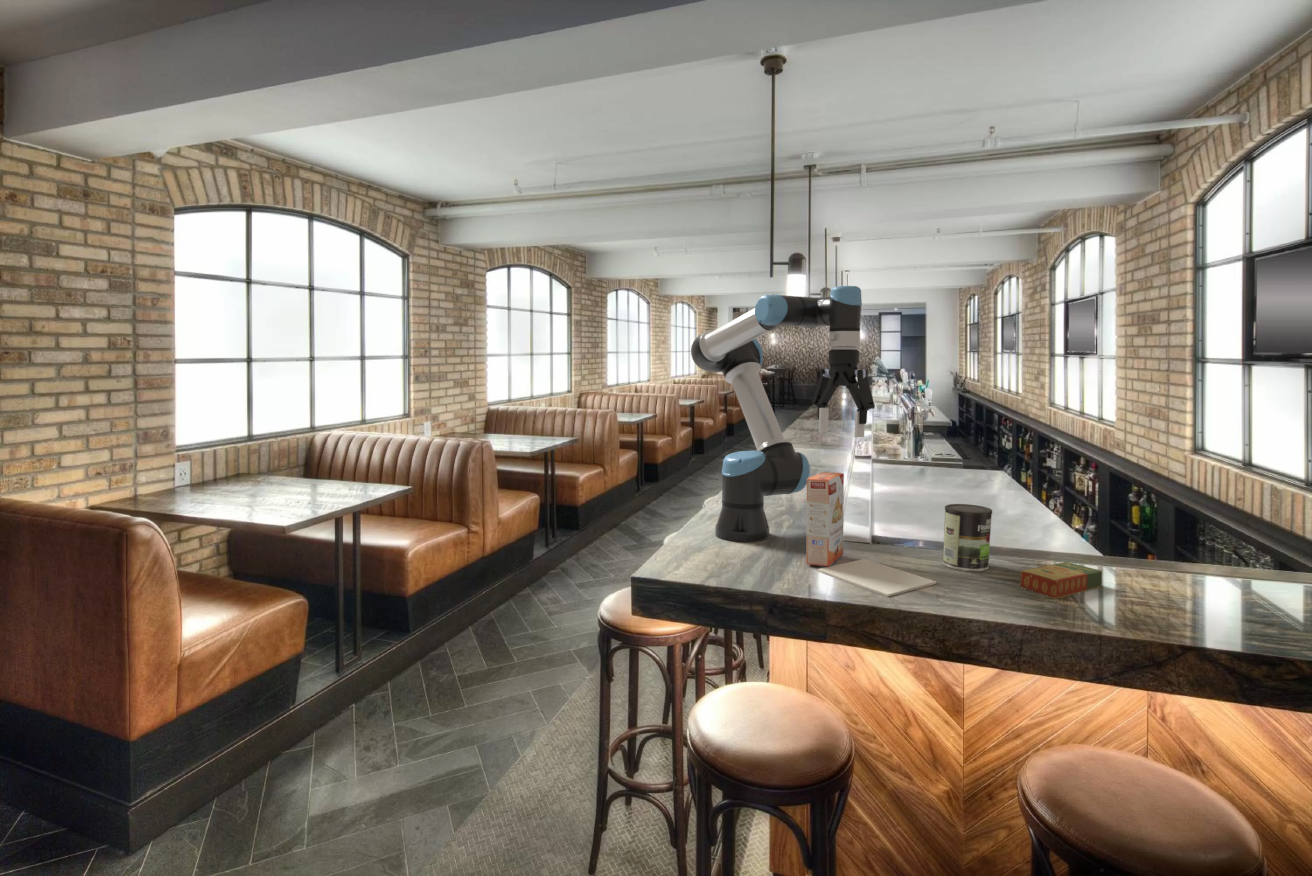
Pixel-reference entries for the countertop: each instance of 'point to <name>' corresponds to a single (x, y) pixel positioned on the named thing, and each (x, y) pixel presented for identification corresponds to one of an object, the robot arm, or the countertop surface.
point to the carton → (1061, 579)
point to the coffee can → (967, 537)
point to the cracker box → (825, 518)
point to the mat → (876, 577)
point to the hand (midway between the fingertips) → (840, 434)
